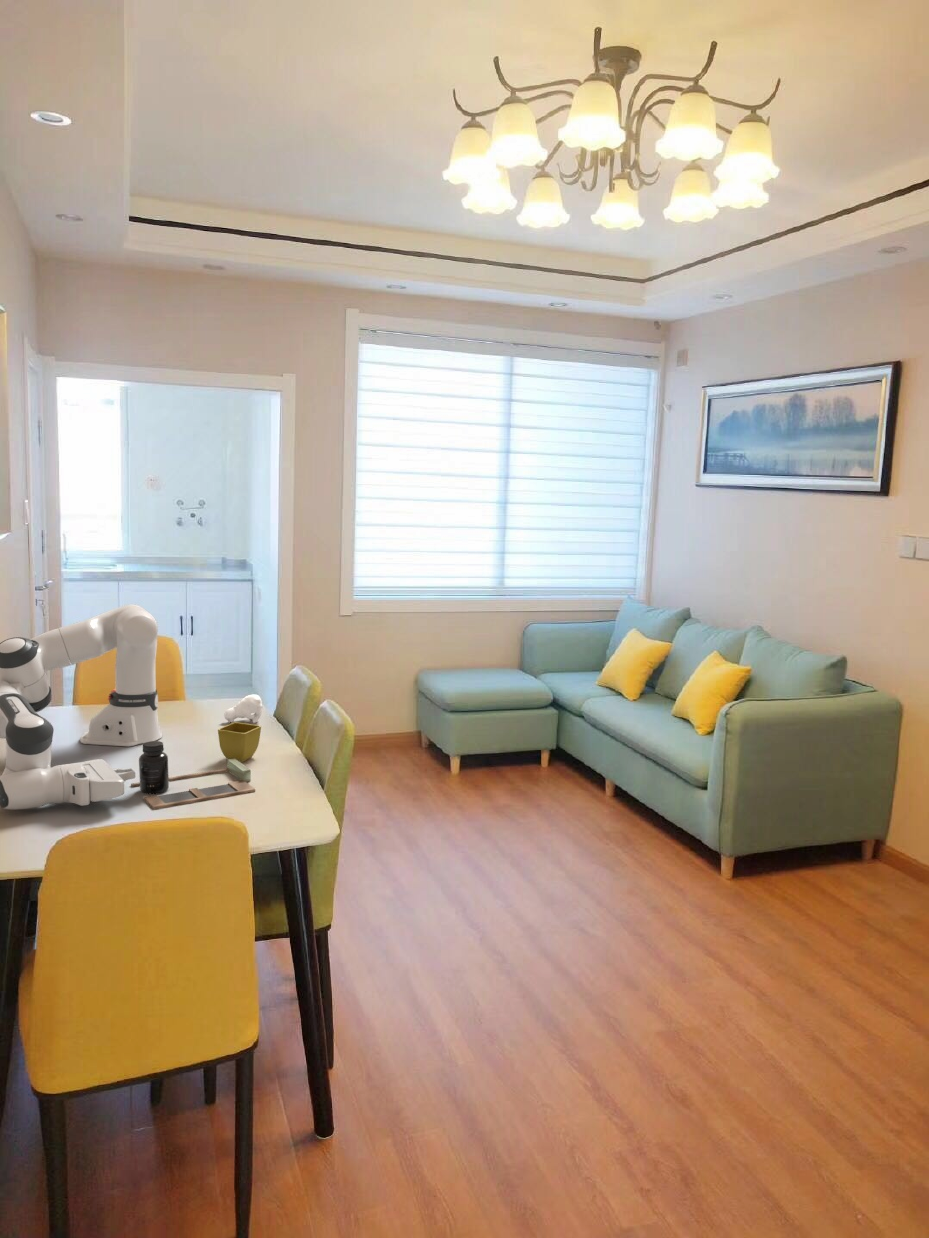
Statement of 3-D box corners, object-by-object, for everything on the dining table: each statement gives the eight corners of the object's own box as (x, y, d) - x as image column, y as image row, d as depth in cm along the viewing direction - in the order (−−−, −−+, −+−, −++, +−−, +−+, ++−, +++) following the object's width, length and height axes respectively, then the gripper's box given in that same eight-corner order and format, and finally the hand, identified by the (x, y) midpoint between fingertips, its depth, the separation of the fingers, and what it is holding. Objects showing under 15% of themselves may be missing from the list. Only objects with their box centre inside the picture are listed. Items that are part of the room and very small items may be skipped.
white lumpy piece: (262, 696, 290) (224, 702, 285) (265, 721, 291) (227, 728, 287) (258, 691, 296) (221, 697, 291) (261, 716, 297) (224, 723, 293)
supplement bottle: (143, 785, 230) (142, 739, 228) (171, 785, 230) (170, 739, 229) (136, 795, 223) (135, 747, 221) (165, 795, 224) (164, 747, 222)
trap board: (153, 809, 214) (153, 797, 213) (131, 785, 229) (130, 774, 229) (262, 790, 229) (262, 778, 229) (234, 769, 245) (234, 758, 244)
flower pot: (262, 756, 256) (262, 725, 255) (245, 765, 248) (244, 733, 247) (235, 752, 259) (234, 721, 258) (217, 761, 251) (216, 729, 250)
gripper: (64, 782, 224) (122, 773, 231) (83, 808, 207) (146, 797, 215) (63, 757, 223) (121, 749, 230) (82, 781, 206) (145, 771, 214)
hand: (133, 773), depth 223 cm, fingers closed
